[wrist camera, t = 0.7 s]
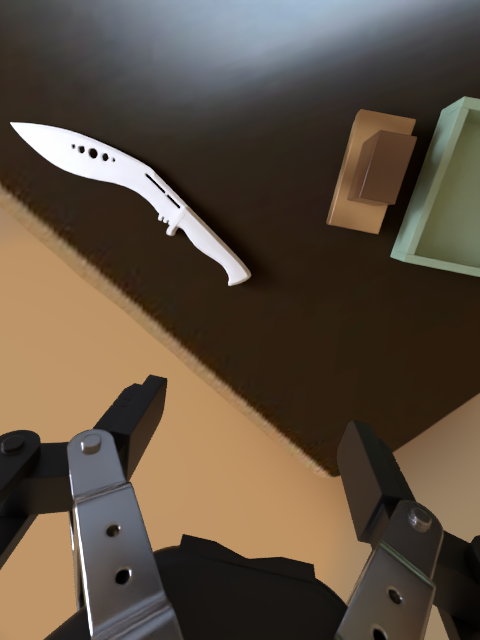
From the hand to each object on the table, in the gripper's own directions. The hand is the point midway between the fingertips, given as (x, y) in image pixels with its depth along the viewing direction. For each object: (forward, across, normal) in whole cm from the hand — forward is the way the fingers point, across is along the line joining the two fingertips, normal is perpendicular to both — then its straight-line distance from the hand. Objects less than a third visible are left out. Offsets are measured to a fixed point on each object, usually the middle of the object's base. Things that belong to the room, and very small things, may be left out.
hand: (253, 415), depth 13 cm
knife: (+25, +16, -6) cm, 30 cm away
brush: (+25, -7, -13) cm, 29 cm away
